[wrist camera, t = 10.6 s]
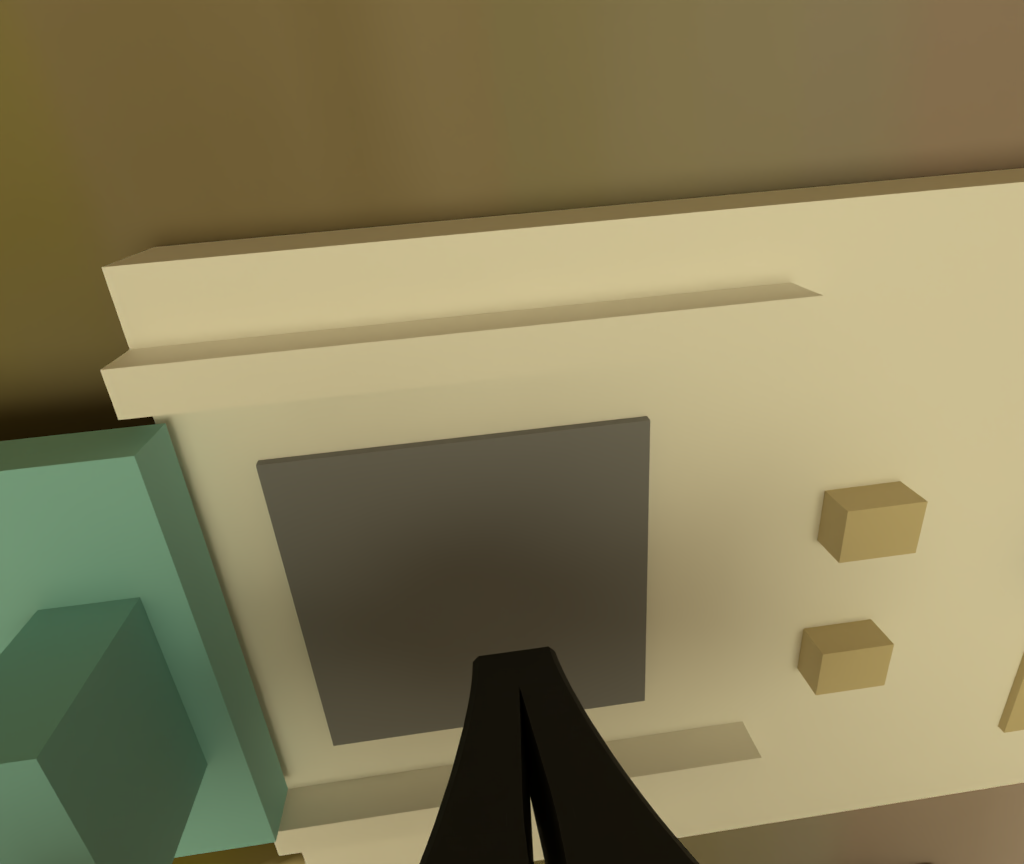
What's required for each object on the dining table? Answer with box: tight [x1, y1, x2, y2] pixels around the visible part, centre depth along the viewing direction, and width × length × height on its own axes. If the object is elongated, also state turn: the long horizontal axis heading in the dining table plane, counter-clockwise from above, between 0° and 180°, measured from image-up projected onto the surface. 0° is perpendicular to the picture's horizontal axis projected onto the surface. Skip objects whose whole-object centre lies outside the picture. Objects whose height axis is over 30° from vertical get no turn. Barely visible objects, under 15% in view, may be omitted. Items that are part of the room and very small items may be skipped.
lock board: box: [100, 168, 1024, 864], centre depth 14 cm, size 16×26×3 cm, turn 94°
